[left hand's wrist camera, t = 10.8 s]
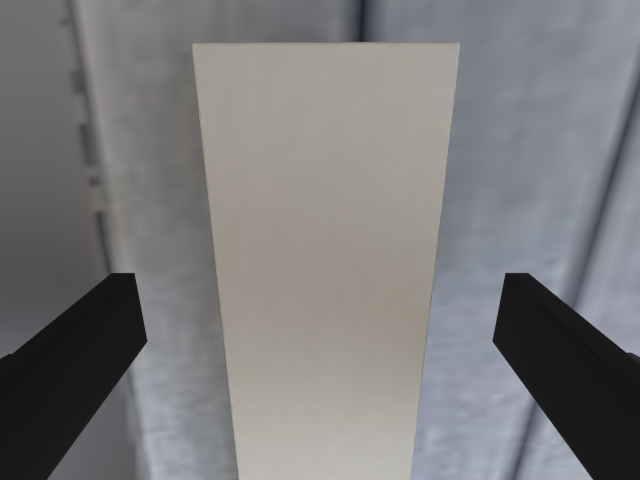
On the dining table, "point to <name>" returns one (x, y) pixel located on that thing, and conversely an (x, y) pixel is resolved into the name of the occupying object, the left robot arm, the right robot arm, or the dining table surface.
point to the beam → (325, 244)
